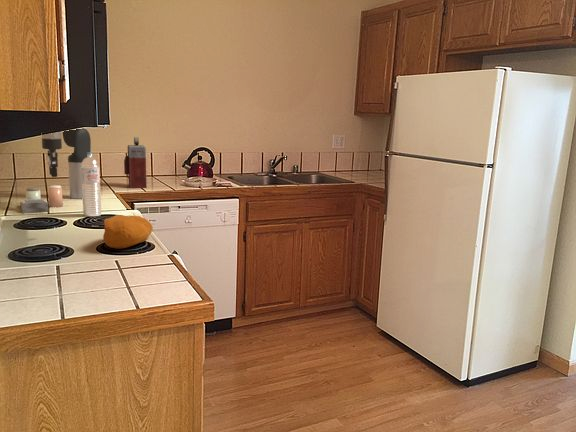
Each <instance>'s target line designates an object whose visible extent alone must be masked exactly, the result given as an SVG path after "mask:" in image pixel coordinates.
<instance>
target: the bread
mask: <svg viewBox="0 0 576 432" xmlns="http://www.w3.org/2000/svg"><path fill="white" fill-rule="evenodd" d="M103 221H104V222H103V223H104V234H103V237H102V238H103V239H102V240H103V242H104V243H105V245H106V246H107V247H109V248H111V249H117V250H118V249H119V250H121V249H126V248H130V247H132V246H135V245H137V244H140V243H141V244H142V243H143V242H145V241H147V240H148V239H149V237H150V235H151V234H152V232H153V225H152V224H151V222H150V221H148V219H146V218H145V217H142V216H141V215H140V216H139V215H123V214H116V215H114V216H111V217H108V218H104V220H103Z"/></svg>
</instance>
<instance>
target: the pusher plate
mask: <svg viewBox="0 0 576 432" xmlns="http://www.w3.org/2000/svg"><path fill="white" fill-rule="evenodd" d="M36 202H45V201H44V198H41V199H30V200H26V199H24V203H36Z"/></svg>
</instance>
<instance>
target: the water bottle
mask: <svg viewBox="0 0 576 432" xmlns="http://www.w3.org/2000/svg"><path fill="white" fill-rule="evenodd" d="M87 155H88V157H86V158H85V159H84V160H83V161H82V162H81V171H82V213H83V216H84V217H90V218H91V217H99V216H100V217H101V215H102V201H101V200H102V198H101V197H102V196H101V195H102V194H101V178H100V176H101V175H100V162H99V161H98V159H96V158H95V157H93V152H91V153H87Z"/></svg>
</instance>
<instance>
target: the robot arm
mask: <svg viewBox="0 0 576 432" xmlns="http://www.w3.org/2000/svg"><path fill="white" fill-rule="evenodd" d="M81 128H82V129H76V130H69V131H64V132H62V131H61V132H57V133H52V134H45V135H42V134H41V148H42V149H43V150H47V153H46V157H47V164H48V167H49V168H48V170H49V175H50V176H51V177H52V178H57V177H58V167H59V159H58V157H59V154H58V153H57V150H61V149H62V145H63V144H62V138H63V143H64V144H65V145H66V146H67V147H70V148H73V152H72V154H70V155H68V157H67V165H68V180H69V181H68V182H69V184H68V185H69V198H70V199H74V200H75V199H77V200H78V199H80V200H81V199H82V171H81V162H82V161H83V160H84V159H85V158H86V157H88V155H87V153H92V152H91V149H92V148H91V146H92V145H91V144H92V143H91V142H92V141H91V134H90V132H89V131H88V129H86V128H83V127H81ZM82 200H83V199H82Z"/></svg>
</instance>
